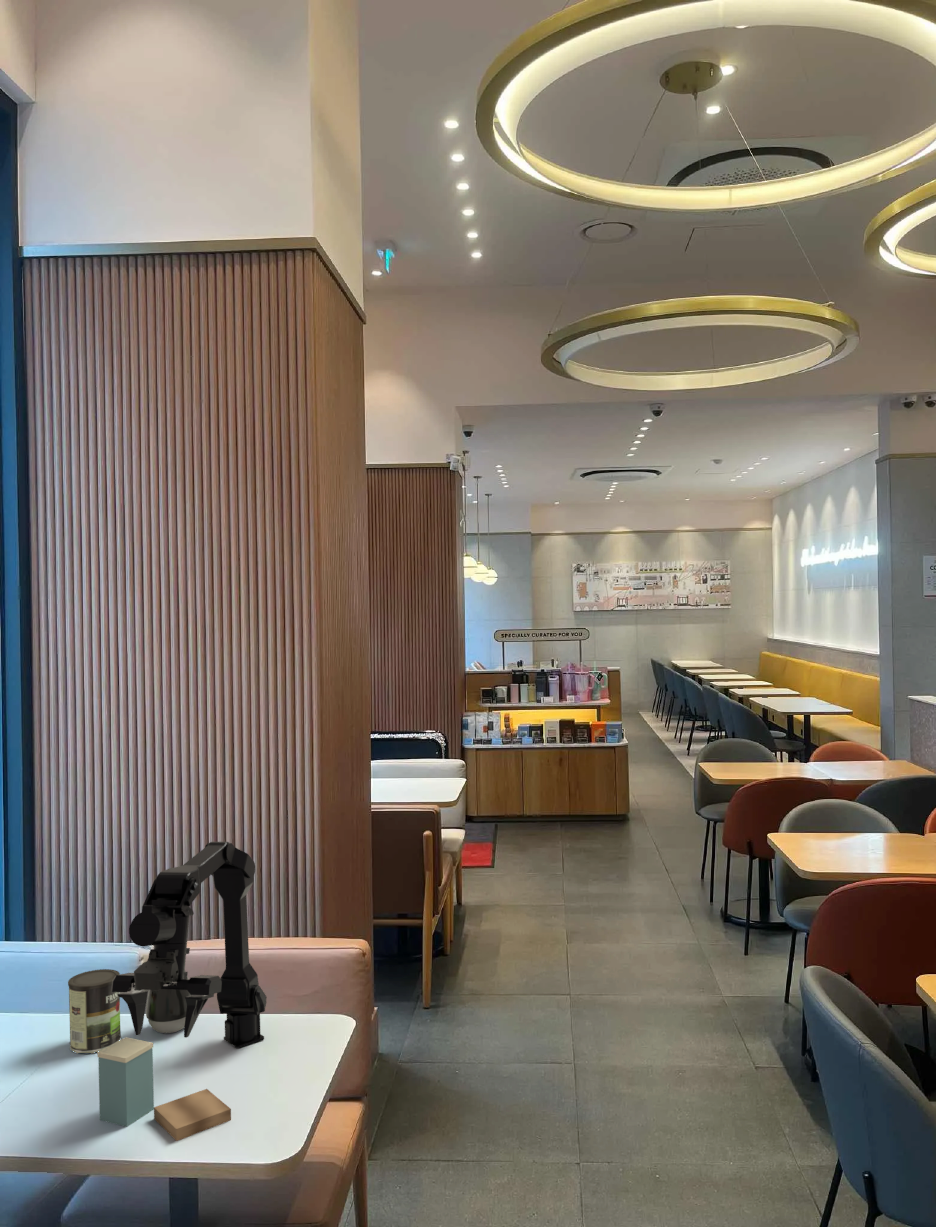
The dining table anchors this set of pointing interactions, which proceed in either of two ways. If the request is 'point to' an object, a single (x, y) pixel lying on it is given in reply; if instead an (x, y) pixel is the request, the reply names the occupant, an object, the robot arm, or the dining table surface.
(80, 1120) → the dining table surface
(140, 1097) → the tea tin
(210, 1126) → the block
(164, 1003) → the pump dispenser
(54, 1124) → the dining table surface
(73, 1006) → the coffee can
